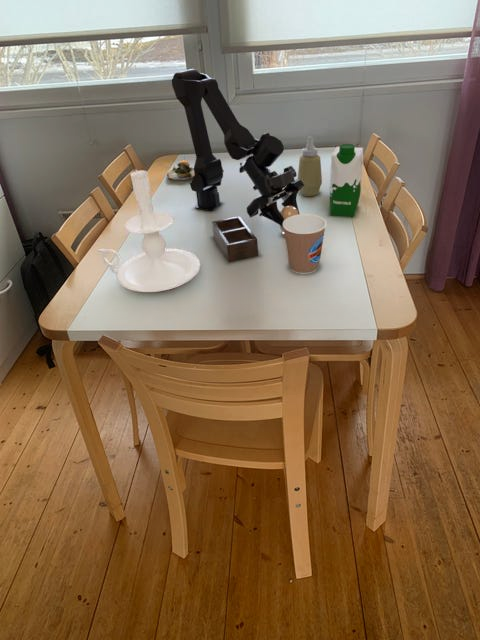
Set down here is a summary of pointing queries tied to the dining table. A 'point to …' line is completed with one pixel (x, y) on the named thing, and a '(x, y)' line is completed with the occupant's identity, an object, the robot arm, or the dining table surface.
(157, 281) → the candlestick
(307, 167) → the squeeze bottle
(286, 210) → the egg
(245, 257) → the dark brown wooden tray
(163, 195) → the dining table surface
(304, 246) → the coffee cup
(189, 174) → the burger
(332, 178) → the milk carton
